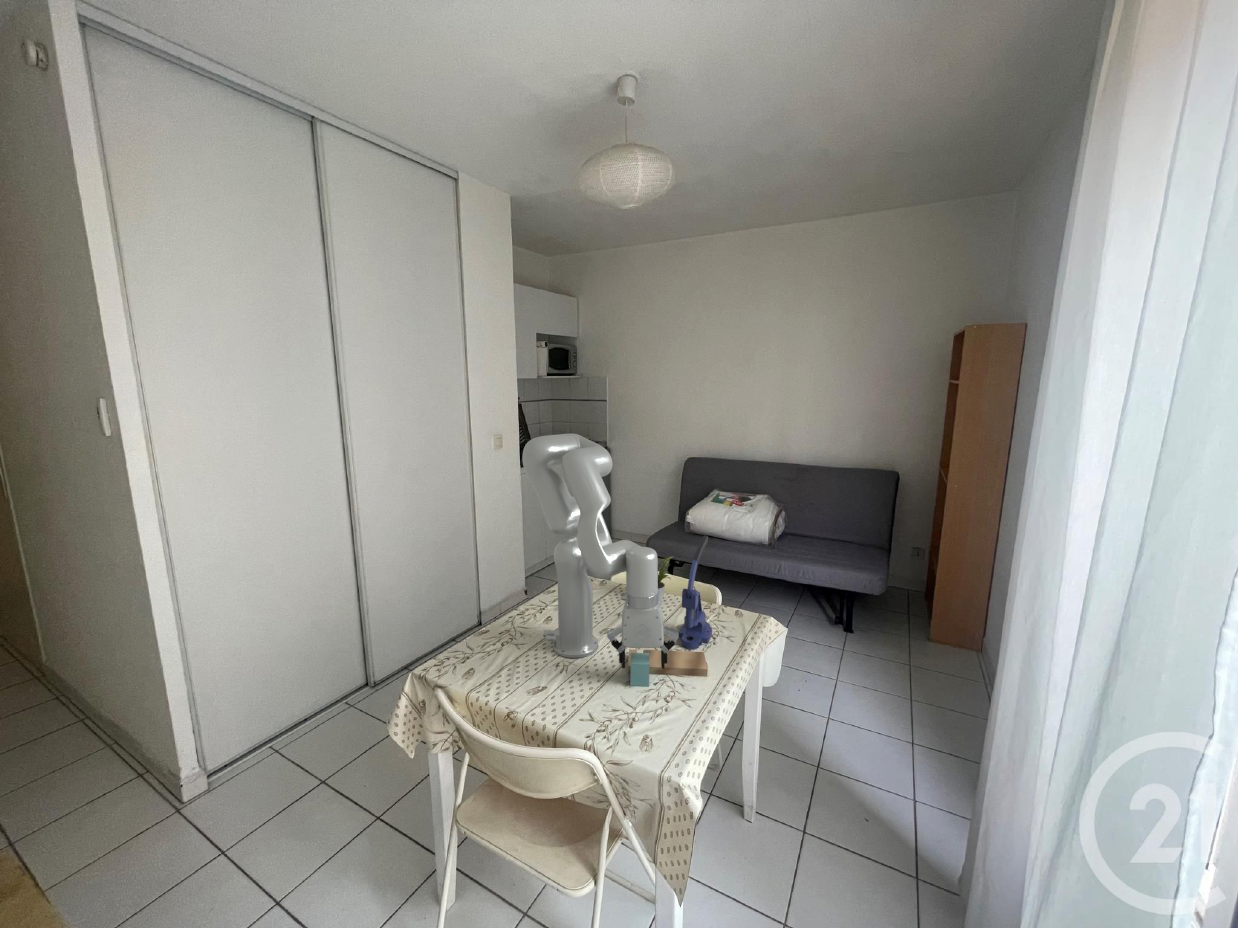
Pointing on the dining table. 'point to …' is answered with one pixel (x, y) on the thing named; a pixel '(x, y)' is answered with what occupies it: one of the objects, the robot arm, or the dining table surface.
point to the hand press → (694, 610)
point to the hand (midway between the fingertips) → (643, 665)
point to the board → (675, 663)
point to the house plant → (661, 576)
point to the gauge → (639, 669)
